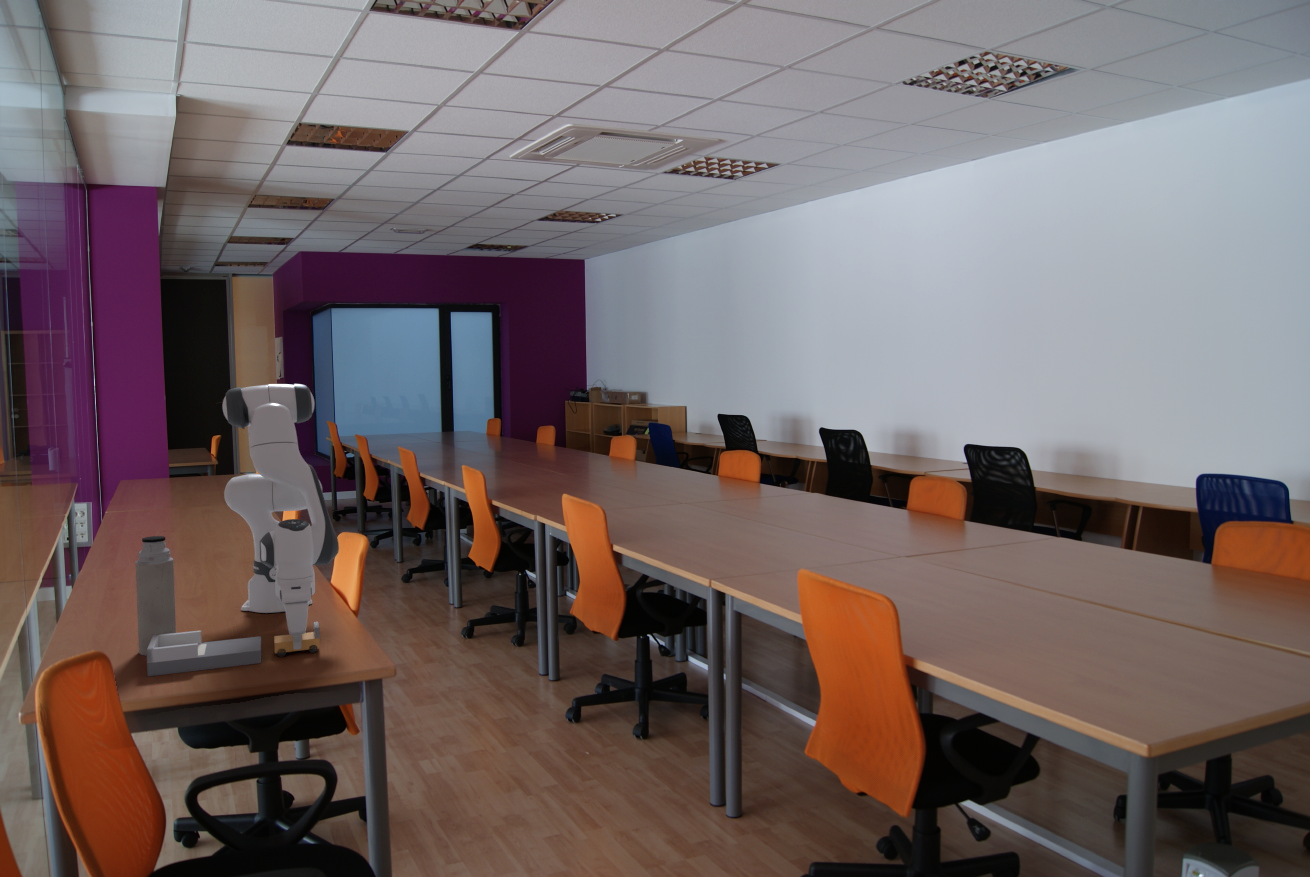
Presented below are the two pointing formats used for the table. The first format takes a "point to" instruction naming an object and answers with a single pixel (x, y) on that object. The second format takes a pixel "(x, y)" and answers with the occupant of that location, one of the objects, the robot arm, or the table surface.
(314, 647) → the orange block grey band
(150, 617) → the thermos bottle
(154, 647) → the dock
